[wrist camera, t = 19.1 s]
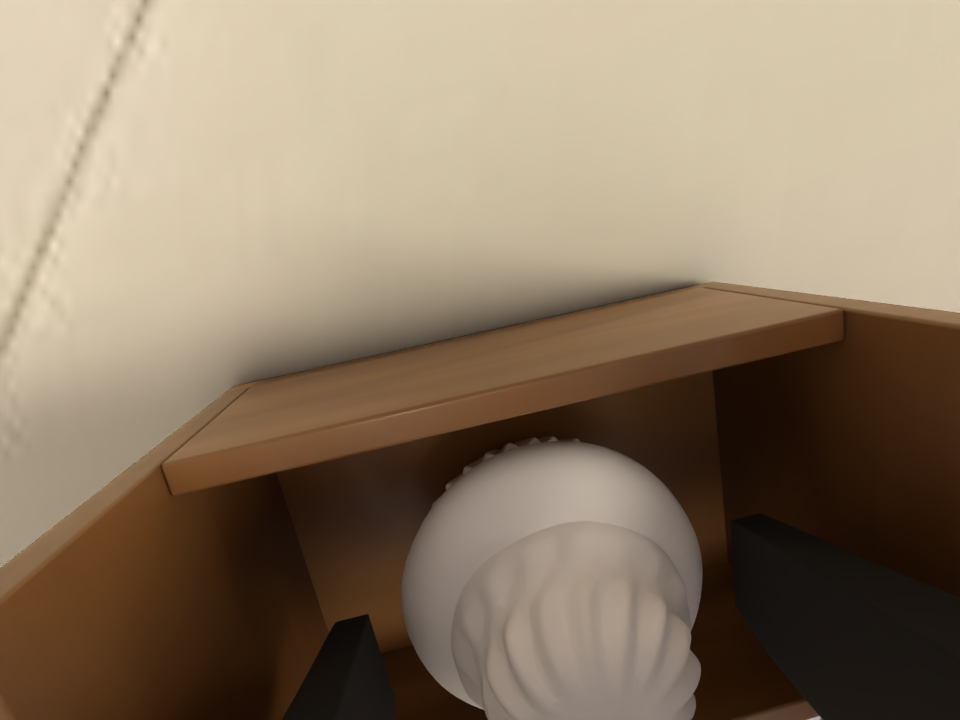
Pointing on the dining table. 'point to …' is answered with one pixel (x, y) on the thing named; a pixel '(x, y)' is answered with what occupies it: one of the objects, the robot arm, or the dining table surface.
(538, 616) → the white swirled dome
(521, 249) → the dining table surface
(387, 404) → the wooden crate
